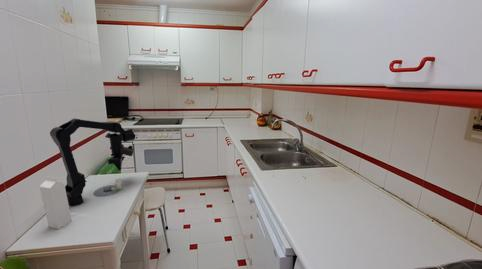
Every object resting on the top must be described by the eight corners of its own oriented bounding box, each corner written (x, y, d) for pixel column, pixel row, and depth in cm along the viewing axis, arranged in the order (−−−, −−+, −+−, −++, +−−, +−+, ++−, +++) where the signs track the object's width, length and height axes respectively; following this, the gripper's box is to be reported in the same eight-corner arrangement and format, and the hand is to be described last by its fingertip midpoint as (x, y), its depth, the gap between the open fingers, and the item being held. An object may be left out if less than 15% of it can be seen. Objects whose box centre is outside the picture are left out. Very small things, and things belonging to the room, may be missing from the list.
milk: (61, 219, 108) (52, 173, 104) (72, 221, 107) (63, 175, 102) (47, 227, 103) (37, 179, 98) (58, 229, 101) (48, 180, 96)
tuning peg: (102, 192, 131) (100, 182, 130) (105, 189, 135) (103, 179, 134) (120, 190, 133) (119, 180, 131) (122, 187, 137) (121, 177, 135)
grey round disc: (87, 197, 129) (86, 195, 128) (106, 185, 142) (106, 183, 142) (109, 199, 126) (109, 197, 125) (127, 187, 139) (127, 186, 138)
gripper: (128, 147, 128) (132, 174, 131) (134, 138, 145) (137, 163, 149) (105, 149, 125) (109, 177, 129) (114, 140, 142) (117, 165, 146)
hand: (120, 170), depth 138 cm, fingers closed
